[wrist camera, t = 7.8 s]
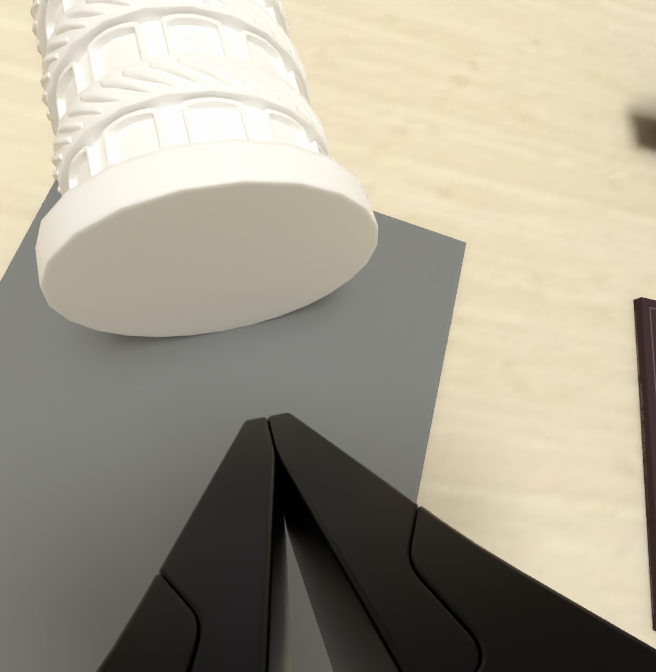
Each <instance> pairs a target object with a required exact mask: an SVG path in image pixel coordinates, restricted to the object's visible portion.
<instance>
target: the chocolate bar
mask: <svg viewBox="0 0 656 672" xmlns="http://www.w3.org/2000/svg"><path fill="white" fill-rule="evenodd" d="M634 312H635V329H636V346H637V363H638V380H639V397H640V414H641V431H642V449H643V466H644V483H645V500H646V517H647V534H648V551H649V568H650V585H651V602H652V619H653V630H654V631H656V300H652V299H647V298H643V297H641V298H638V299H635V300H634Z"/></svg>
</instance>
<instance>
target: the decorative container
mask: <svg viewBox="0 0 656 672" xmlns="http://www.w3.org/2000/svg"><path fill="white" fill-rule="evenodd" d="M30 11H31V15H32V17H33V19H34V21H35V22H34V24H33V28H32V31H33V33H34V34H35V36H36V38H37V39H38V42H37V48H38V52H39V53H40V54H41V55H42V59H43V63H42V67H43V76H42V78H41V79H40V82H41V85H42V87H43V88H44V90H45V93H44V94H43V96H42V101H43V102H44V103H45V105H46V106H48V111H47V117H48V119H49V120H50V121H51V123H52V128H53V132H54V134H55V135H56V139H55V141H54V148H53V149H54V156H53V157H52V158H51V160H52V163H53V164H54V165H55V166H56V171H54V173H53V175H52V176H53V178H55V179H56V180H58V183H59V186H58V189H57V191H58V192H59V193H60V194H61V196H62V197H61V198H60V200H59V201H58V202H57V203H56V204H55V205H54V206H53V208H52V209H51V210H50V211H49V212H48V213H47V214H46V216H45V217H44V218H43V219H42V220H41V224H40V229H39V233H38V238H37V243H36V247H35V251H36V259H37V267H38V276H39V284H40V287H41V290H42V292H43V294H44V296H45V298H46V301H47V303H48V305H49V306H50V307H51V308H52V309H54V310H55V311H57V312H58V313H59V314H61V315H62V316H63V317H65V318H66V319H68V320H69V321H71V322H74V323H77V324H80V325H82V326H85V327H88V328H91V329H94V330H97V331H103V332H108V333H114V334H120V335H126V336H145V337H171V336H191V335H198V334H206V333H213V332H220V331H225V330H230V329H235V328H239V327H244V326H249V325H253V324H256V323H259V322H263V321H266V320H269V319H273V318H276V317H279V316H282V315H285V314H287V313H290V312H292V311H295V310H297V309H300V308H302V307H305V306H307V305H309V304H311V303H313V302H315V301H317V300H319V299H321V298H323V297H324V296H326V295H328V294H330V293H332V292H333V291H335V290H336V289H337V288H339V287H340V286H342V285H343V284H345V283H346V282H348V281H349V280H350V279H352V278H353V277H354V276H355V275H356V274H357V273H358V272H359V271H360V270H361V269H362V268H363V267H364V266H365V265H366V264H367V263H368V261H369V259H370V257H371V255H372V254H373V252H374V250H375V248H376V246H377V239H378V225H377V222H376V219H375V216H374V213H373V210H372V207H371V204H370V201H369V198H368V196H367V194H366V192H365V191H364V189H363V187H362V185H361V183H360V182H359V180H358V178H357V176H356V175H355V174H353V173H352V172H350V171H349V170H348V169H346V168H345V167H344V166H342V165H341V164H340V163H338V162H337V161H335V160H334V159H333V158H331V157H329V144H328V138H327V136H326V133H325V131H324V129H323V125H322V123H321V121H320V120H319V118H318V116H317V114H316V113H315V112H314V110H313V109H312V108H311V106H310V104H309V88H308V82H307V76H306V72H305V69H304V67H303V64H302V62H301V59H300V56H299V54H298V52H297V50H296V48H295V47H294V45H293V44H292V42H291V40H290V31H289V27H288V20H287V15H286V11H285V9H284V6H283V4H282V1H281V0H33V5H32V7H31V9H30Z"/></svg>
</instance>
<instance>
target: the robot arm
mask: <svg viewBox="0 0 656 672" xmlns="http://www.w3.org/2000/svg"><path fill="white" fill-rule="evenodd" d="M284 520H285V522H284ZM285 524H286V529H287V532H288V536H289V539H290V542H291V545H292V548H293V551H294V554H295V557H296V560H297V563H298V566H299V569H300V572H301V575H302V578H303V582H304V585H305V588H306V591H307V594H308V597H309V600H310V603H311V606H312V609H313V612H314V615H315V618H316V621H317V624H318V627H319V630H320V633H321V636H322V639H323V642H324V645H325V648H326V651H327V654H328V657H329V660H330V663H331V666H332V669H333V672H656V649H655V648H653V647H651V646H649V645H648V644H646V643H644V642H642V641H641V640H639V639H637V638H636V637H634V636H632V635H630V634H629V633H627V632H625V631H624V630H622V629H620V628H618V627H617V626H615V625H613V624H611V623H610V622H608V621H606V620H605V619H603V618H601V617H599V616H598V615H596V614H594V613H593V612H591V611H589V610H587V609H586V608H584V607H582V606H581V605H579V604H577V603H575V602H574V601H572V600H570V599H568V598H567V597H565V596H563V595H562V594H560V593H558V592H556V591H555V590H553V589H551V588H550V587H548V586H546V585H544V584H543V583H541V582H539V581H537V580H536V579H534V578H532V577H531V576H529V575H527V574H525V573H524V572H522V571H520V570H519V569H517V568H515V567H514V566H512V565H510V564H509V563H507V562H505V561H504V560H502V559H500V558H499V557H497V556H496V555H494V554H492V553H491V552H489V551H487V550H486V549H484V548H482V547H481V546H479V545H477V544H476V543H474V542H473V541H471V540H470V539H468V538H467V537H465V536H464V535H463V534H461V533H460V532H458V531H457V530H455V529H454V528H452V527H451V526H449V525H448V524H446V523H445V522H443V521H442V520H440V519H439V518H438V517H436V516H435V515H433V514H432V513H431V512H429V511H428V510H426V509H425V508H424V507H419V508H418V505H417V503H415V502H414V501H412V500H411V499H410V498H408V497H407V496H405V495H404V494H403V493H401V492H400V491H398V490H397V489H396V488H394V487H393V486H391V485H390V484H389V483H387V482H386V481H384V480H383V479H382V478H380V477H379V476H378V475H376V474H375V473H373V472H372V471H371V470H369V469H368V468H366V467H365V466H364V465H362V464H361V463H359V462H358V461H357V460H355V459H354V458H352V457H351V456H350V455H348V454H347V453H345V452H344V451H343V450H341V449H340V448H338V447H337V446H336V445H334V444H333V443H331V442H330V441H329V440H327V439H326V438H324V437H323V436H322V435H320V434H319V433H317V432H316V431H315V430H313V429H312V428H310V427H309V426H308V425H306V424H305V423H303V422H302V421H301V420H299V419H298V418H296V417H295V416H294V415H292V414H291V413H288V412H286V413H281V414H275V415H271V416H269V418H268V420H267V418H266V417H260V418H255V419H249V420H246V421H245V422H244V423H243V425H242V427H241V428H240V430H239V432H238V434H237V435H236V437H235V439H234V441H233V442H232V444H231V446H230V448H229V449H228V451H227V453H226V455H225V456H224V458H223V460H222V461H221V463H220V465H219V467H218V468H217V470H216V472H215V474H214V475H213V477H212V479H211V481H210V482H209V484H208V486H207V487H206V489H205V491H204V493H203V494H202V496H201V498H200V500H199V501H198V503H197V505H196V507H195V508H194V510H193V512H192V514H191V515H190V517H189V519H188V520H187V522H186V524H185V526H184V527H183V529H182V531H181V533H180V534H179V536H178V538H177V540H176V541H175V543H174V545H173V547H172V548H171V550H170V552H169V553H168V555H167V557H166V559H165V560H164V562H163V564H162V566H161V567H160V569H159V574H157V575H155V576H154V578H153V580H152V581H151V583H150V585H149V587H148V588H147V590H146V592H145V594H144V595H143V597H142V599H141V601H140V602H139V604H138V605H137V607H136V609H135V610H134V612H133V614H132V615H131V617H130V619H129V620H128V622H127V623H126V625H125V627H124V628H123V630H122V632H121V633H120V635H119V637H118V638H117V640H116V641H115V643H114V645H113V646H112V648H111V649H110V651H109V652H108V654H107V655H106V657H105V658H104V660H103V661H102V663H101V664H100V666H99V667H98V669H97V670H96V672H292V650H291V629H290V607H289V586H288V564H287V543H286V530H285Z"/></svg>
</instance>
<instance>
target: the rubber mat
mask: <svg viewBox="0 0 656 672" xmlns="http://www.w3.org/2000/svg"><path fill="white" fill-rule="evenodd" d="M58 186H59V183H58V180H55V182H54V184H53V186H52V187H51V189H50V191H49V193H48V195H47V197H46V199H45V200H44V202H43V204H42V206H41V208H40V210H39V211H38V213H37V215H36V217H35V219H34V221H33V222H32V224H31V226H30V228H29V230H28V232H27V234H26V235H25V237H24V239H23V241H22V243H21V245H20V246H19V248H18V250H17V252H16V254H15V256H14V257H13V259H12V261H11V263H10V265H9V267H8V269H7V270H6V272H5V274H4V276H3V278H2V280H1V281H0V672H96V670H97V669H98V667H99V666H100V664H101V663H102V661H103V660H104V658H105V657H106V655H107V654H108V652H109V651H110V649H111V648H112V646H113V645H114V643H115V641H116V640H117V638H118V637H119V635H120V633H121V632H122V630H123V628H124V627H125V625H126V623H127V622H128V620H129V619H130V617H131V615H132V614H133V612H134V610H135V609H136V607H137V605H138V604H139V602H140V601H141V599H142V597H143V595H144V594H145V592H146V590H147V588H148V587H149V585H150V583H151V581H152V580H153V578H154V576H155V575H157V574H159V569H160V567H161V566H162V564H163V562H164V560H165V559H166V557H167V555H168V553H169V552H170V550H171V548H172V547H173V545H174V543H175V541H176V540H177V538H178V536H179V534H180V533H181V531H182V529H183V527H184V526H185V524H186V522H187V520H188V519H189V517H190V515H191V514H192V512H193V510H194V508H195V507H196V505H197V503H198V501H199V500H200V498H201V496H202V494H203V493H204V491H205V489H206V487H207V486H208V484H209V482H210V481H211V479H212V477H213V475H214V474H215V472H216V470H217V468H218V467H219V465H220V463H221V461H222V460H223V458H224V456H225V455H226V453H227V451H228V449H229V448H230V446H231V444H232V442H233V441H234V439H235V437H236V435H237V434H238V432H239V430H240V428H241V427H242V425H243V423H244V422H245V421H246V420H249V419H255V418H260V417H266V418H267V420H268V418H269V416H271V415H275V414H281V413H286V412H288V413H291V414H292V415H294V416H295V417H296V418H298V419H299V420H301V421H302V422H303V423H305V424H306V425H308V426H309V427H310V428H312V429H313V430H315V431H316V432H317V433H319V434H320V435H322V436H323V437H324V438H326V439H327V440H329V441H330V442H331V443H333V444H334V445H336V446H337V447H338V448H340V449H341V450H343V451H344V452H345V453H347V454H348V455H350V456H351V457H352V458H354V459H355V460H357V461H358V462H359V463H361V464H362V465H364V466H365V467H366V468H368V469H369V470H371V471H372V472H373V473H375V474H376V475H378V476H379V477H380V478H382V479H383V480H384V481H386V482H387V483H389V484H390V485H391V486H393V487H394V488H396V489H397V490H398V491H400V492H401V493H403V494H404V495H405V496H407V497H408V498H410V499H411V500H412V501H414V502H415V503H416V500H417V495H418V490H419V485H420V480H421V474H422V469H423V464H424V459H425V454H426V448H427V443H428V438H429V433H430V428H431V423H432V417H433V412H434V407H435V402H436V397H437V391H438V386H439V381H440V376H441V371H442V366H443V360H444V355H445V350H446V345H447V340H448V334H449V329H450V324H451V319H452V314H453V309H454V303H455V298H456V293H457V288H458V283H459V278H460V272H461V267H462V262H463V257H464V252H465V246H466V243H465V242H462V241H459V240H457V239H454V238H451V237H448V236H445V235H442V234H439V233H436V232H433V231H430V230H427V229H424V228H422V227H419V226H416V225H413V224H410V223H407V222H404V221H401V220H398V219H395V218H392V217H389V216H386V215H384V214H381V213H378V212H375V211H373V213H374V216H375V219H376V222H377V225H378V239H377V246H376V248H375V250H374V252H373V254H372V255H371V257H370V259H369V261H368V263H367V264H366V265H365V266H364V267H363V268H362V269H361V270H360V271H359V272H358V273H357V274H356V275H355V276H354V277H353V278H352V279H350V280H349V281H348V282H346V283H345V284H343V285H342V286H340V287H339V288H337V289H336V290H335V291H333V292H332V293H330V294H328V295H326V296H324V297H323V298H321V299H319V300H317V301H315V302H313V303H311V304H309V305H307V306H305V307H302V308H300V309H297V310H295V311H292V312H290V313H287V314H285V315H282V316H279V317H276V318H273V319H269V320H266V321H263V322H259V323H256V324H253V325H249V326H244V327H239V328H235V329H230V330H225V331H220V332H213V333H206V334H198V335H191V336H171V337H145V336H126V335H120V334H114V333H108V332H103V331H97V330H94V329H91V328H88V327H85V326H82V325H80V324H77V323H74V322H71V321H69V320H68V319H66V318H65V317H63V316H62V315H61V314H59V313H58V312H57V311H55V310H54V309H52V308H51V307H50V306H49V305H48V303H47V301H46V298H45V296H44V294H43V292H42V290H41V287H40V284H39V276H38V267H37V259H36V251H35V247H36V243H37V238H38V233H39V229H40V224H41V220H42V219H43V218H44V217H45V216H46V214H47V213H48V212H49V211H50V210H51V209H52V208H53V206H54V205H55V204H56V203H57V202H58V201H59V200H60V198H61V197H62V196H61V194H60V193H59V192H58V191H57V189H58ZM284 522H285V520H284ZM285 530H286V543H287V564H288V586H289V607H290V629H291V650H292V672H333V669H332V666H331V663H330V660H329V657H328V654H327V651H326V648H325V645H324V642H323V639H322V636H321V633H320V630H319V627H318V624H317V621H316V618H315V615H314V612H313V609H312V606H311V603H310V600H309V597H308V594H307V591H306V588H305V585H304V582H303V578H302V575H301V572H300V569H299V566H298V563H297V560H296V557H295V554H294V551H293V548H292V545H291V542H290V539H289V536H288V532H287V529H286V524H285Z"/></svg>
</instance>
